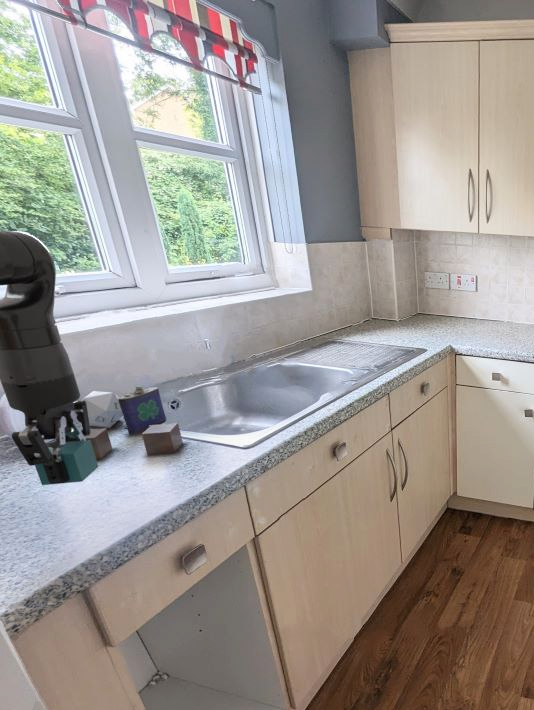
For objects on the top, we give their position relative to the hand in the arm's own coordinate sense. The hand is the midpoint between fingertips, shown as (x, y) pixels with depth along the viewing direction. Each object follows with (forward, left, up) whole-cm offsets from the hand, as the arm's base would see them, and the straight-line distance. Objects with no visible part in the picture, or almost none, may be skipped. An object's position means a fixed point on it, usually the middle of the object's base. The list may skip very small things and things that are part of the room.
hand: (70, 473), depth 73 cm
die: (-16, +45, -9) cm, 49 cm away
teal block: (0, 0, 0) cm, 0 cm away
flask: (-6, +41, -9) cm, 42 cm away
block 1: (-11, +27, -9) cm, 30 cm away
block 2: (+2, +27, -9) cm, 29 cm away
